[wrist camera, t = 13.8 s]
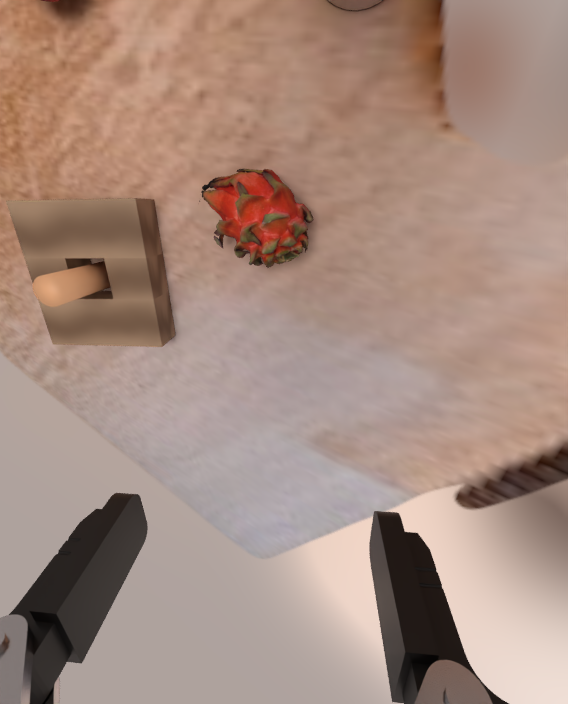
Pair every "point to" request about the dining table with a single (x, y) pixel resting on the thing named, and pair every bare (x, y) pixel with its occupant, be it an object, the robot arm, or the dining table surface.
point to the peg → (71, 284)
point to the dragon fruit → (259, 216)
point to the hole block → (121, 263)
